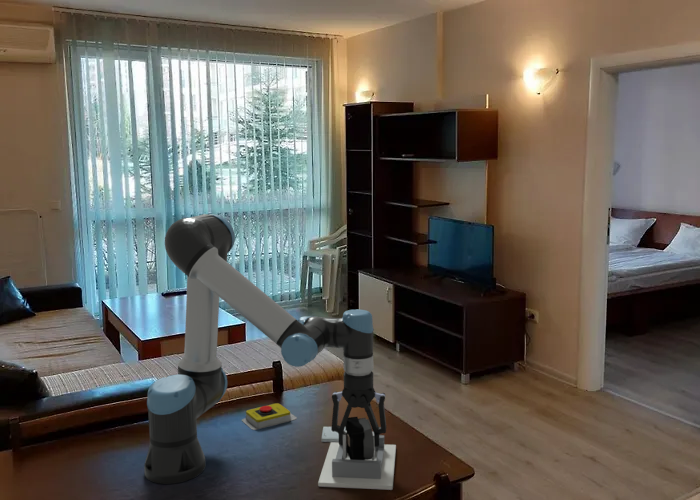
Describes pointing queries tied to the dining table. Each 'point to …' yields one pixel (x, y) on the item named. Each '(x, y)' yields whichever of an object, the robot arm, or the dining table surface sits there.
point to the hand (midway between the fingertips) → (359, 456)
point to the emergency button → (267, 416)
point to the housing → (359, 468)
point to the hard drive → (329, 435)
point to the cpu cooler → (359, 439)
